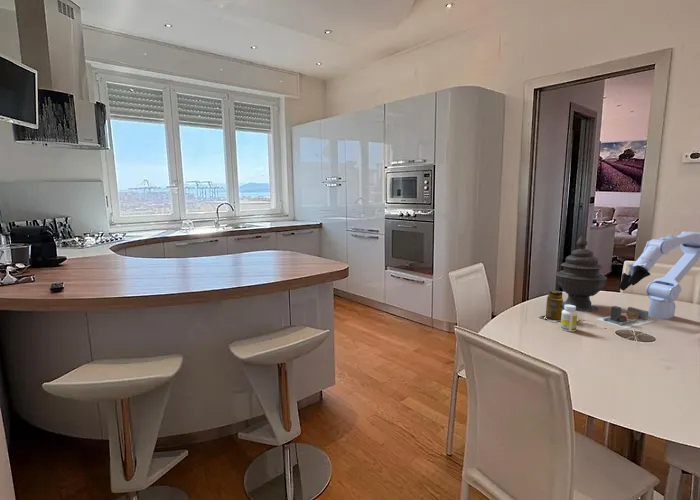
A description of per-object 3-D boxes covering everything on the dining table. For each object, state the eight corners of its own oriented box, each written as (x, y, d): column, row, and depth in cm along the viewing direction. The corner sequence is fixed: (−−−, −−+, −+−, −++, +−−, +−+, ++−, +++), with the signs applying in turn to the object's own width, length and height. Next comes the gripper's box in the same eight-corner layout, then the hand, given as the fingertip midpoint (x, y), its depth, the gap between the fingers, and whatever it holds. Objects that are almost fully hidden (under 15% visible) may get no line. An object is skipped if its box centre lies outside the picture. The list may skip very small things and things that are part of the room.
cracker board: (624, 315, 167) (625, 305, 167) (655, 324, 157) (656, 312, 156) (595, 322, 159) (596, 310, 159) (625, 331, 149) (626, 319, 148)
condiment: (565, 319, 164) (567, 292, 162) (554, 322, 159) (557, 295, 157) (548, 314, 170) (551, 288, 168) (538, 317, 165) (540, 291, 163)
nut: (629, 316, 162) (630, 309, 162) (640, 319, 159) (641, 312, 158) (624, 317, 161) (624, 310, 160) (634, 320, 157) (635, 313, 157)
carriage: (616, 319, 159) (617, 304, 158) (627, 322, 155) (629, 307, 154) (606, 321, 156) (608, 306, 155) (618, 324, 152) (619, 309, 151)
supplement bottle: (574, 328, 153) (576, 304, 151) (577, 332, 148) (579, 308, 146) (559, 326, 155) (561, 303, 153) (561, 331, 150) (563, 307, 148)
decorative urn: (615, 316, 164) (616, 235, 161) (564, 317, 168) (564, 238, 165) (594, 305, 184) (594, 233, 181) (549, 305, 188) (548, 235, 185)
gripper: (626, 262, 162) (608, 284, 160) (646, 249, 149) (625, 274, 147) (642, 272, 160) (624, 295, 157) (663, 261, 146) (643, 286, 144)
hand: (626, 286), depth 152 cm, fingers open, 7 cm apart
